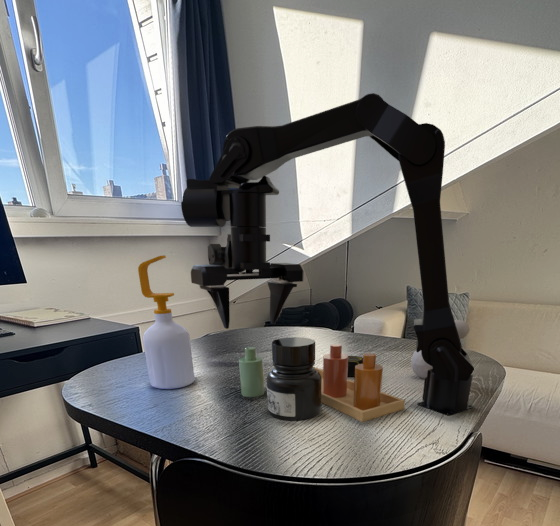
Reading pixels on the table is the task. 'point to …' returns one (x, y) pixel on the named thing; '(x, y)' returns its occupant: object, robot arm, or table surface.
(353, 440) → the table surface
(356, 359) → the tape measure
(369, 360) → the amber bottle
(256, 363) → the sage bottle
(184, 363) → the soap bottle
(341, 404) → the tray
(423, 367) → the perfume bottle
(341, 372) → the terracotta bottle
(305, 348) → the ink bottle
